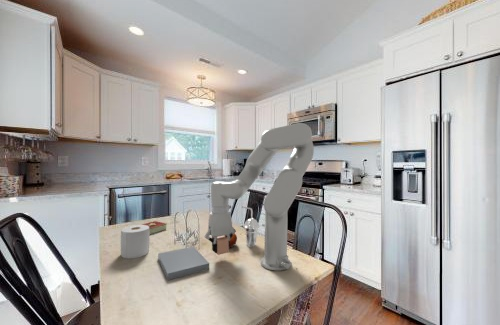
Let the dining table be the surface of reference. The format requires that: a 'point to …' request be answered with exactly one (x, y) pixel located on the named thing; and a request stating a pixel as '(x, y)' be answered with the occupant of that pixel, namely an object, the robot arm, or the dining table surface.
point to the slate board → (182, 262)
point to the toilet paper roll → (134, 241)
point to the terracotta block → (222, 245)
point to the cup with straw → (251, 230)
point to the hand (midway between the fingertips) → (221, 250)
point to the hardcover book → (155, 226)
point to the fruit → (233, 240)
